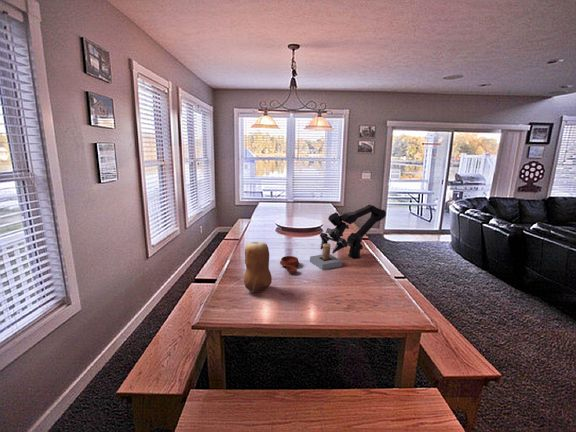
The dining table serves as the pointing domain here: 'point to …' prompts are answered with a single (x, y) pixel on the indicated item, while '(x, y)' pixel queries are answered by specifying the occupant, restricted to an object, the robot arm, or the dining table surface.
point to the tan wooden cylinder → (326, 252)
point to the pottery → (290, 263)
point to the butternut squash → (257, 267)
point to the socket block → (325, 262)
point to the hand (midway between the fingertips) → (326, 251)
